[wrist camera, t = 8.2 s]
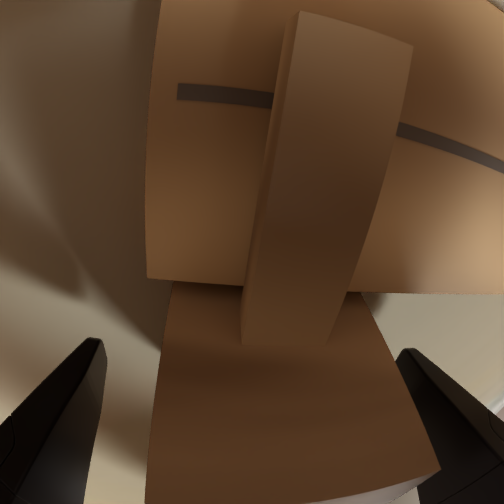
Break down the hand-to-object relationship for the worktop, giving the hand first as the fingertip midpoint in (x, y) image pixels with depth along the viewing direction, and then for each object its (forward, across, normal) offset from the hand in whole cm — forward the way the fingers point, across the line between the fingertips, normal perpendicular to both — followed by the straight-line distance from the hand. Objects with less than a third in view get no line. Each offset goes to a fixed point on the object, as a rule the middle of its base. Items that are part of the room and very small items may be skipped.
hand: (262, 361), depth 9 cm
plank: (+1, -7, -6) cm, 10 cm away
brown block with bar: (+1, 0, -3) cm, 3 cm away
